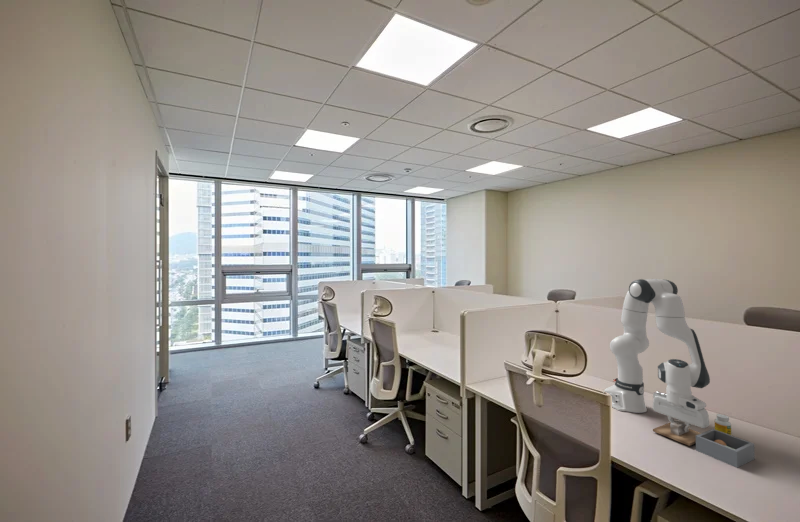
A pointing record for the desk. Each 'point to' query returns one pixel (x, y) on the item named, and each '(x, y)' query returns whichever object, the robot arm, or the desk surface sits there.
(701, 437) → the storage box
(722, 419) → the supplement bottle
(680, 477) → the desk surface
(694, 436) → the lid
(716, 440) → the ball
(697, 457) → the desk surface
